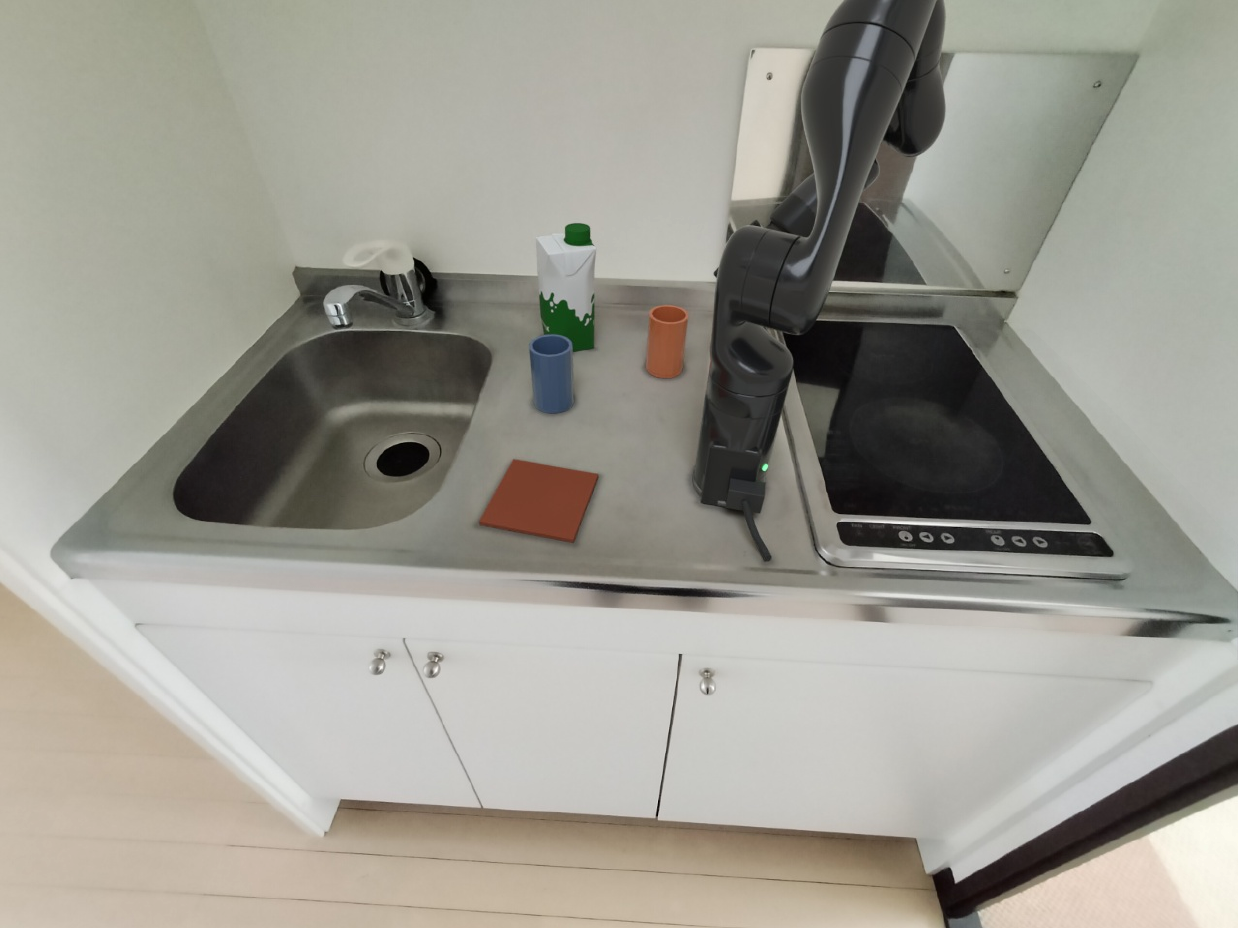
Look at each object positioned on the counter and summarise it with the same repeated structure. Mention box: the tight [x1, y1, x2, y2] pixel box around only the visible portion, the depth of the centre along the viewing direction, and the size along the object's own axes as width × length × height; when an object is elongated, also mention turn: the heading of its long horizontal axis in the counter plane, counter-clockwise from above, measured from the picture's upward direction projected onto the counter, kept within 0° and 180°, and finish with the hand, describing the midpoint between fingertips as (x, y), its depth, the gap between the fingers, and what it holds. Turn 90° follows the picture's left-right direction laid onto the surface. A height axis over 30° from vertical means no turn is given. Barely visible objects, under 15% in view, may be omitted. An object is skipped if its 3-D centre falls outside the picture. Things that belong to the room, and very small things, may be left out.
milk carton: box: [535, 222, 597, 353], centre depth 100 cm, size 9×9×20 cm
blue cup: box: [528, 334, 575, 414], centre depth 90 cm, size 6×6×10 cm
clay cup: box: [645, 304, 690, 379], centre depth 98 cm, size 6×6×10 cm
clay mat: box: [478, 458, 599, 544], centre depth 77 cm, size 12×12×1 cm
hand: (727, 290), depth 94 cm, fingers open, 8 cm apart
